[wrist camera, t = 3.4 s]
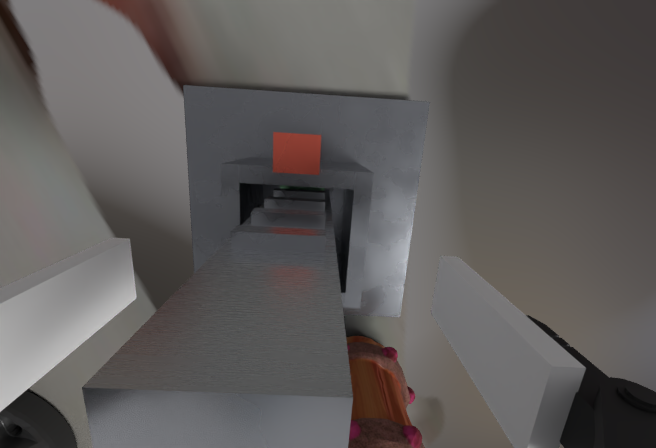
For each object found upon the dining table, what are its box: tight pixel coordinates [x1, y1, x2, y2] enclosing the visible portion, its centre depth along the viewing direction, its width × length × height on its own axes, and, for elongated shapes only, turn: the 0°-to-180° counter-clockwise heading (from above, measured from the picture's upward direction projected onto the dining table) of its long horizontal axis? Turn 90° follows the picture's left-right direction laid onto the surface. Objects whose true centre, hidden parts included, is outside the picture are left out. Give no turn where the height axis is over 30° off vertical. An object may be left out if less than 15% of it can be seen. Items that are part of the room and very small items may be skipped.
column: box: [82, 185, 353, 448], centre depth 15 cm, size 4×5×20 cm
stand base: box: [183, 85, 430, 317], centre depth 21 cm, size 18×18×9 cm
